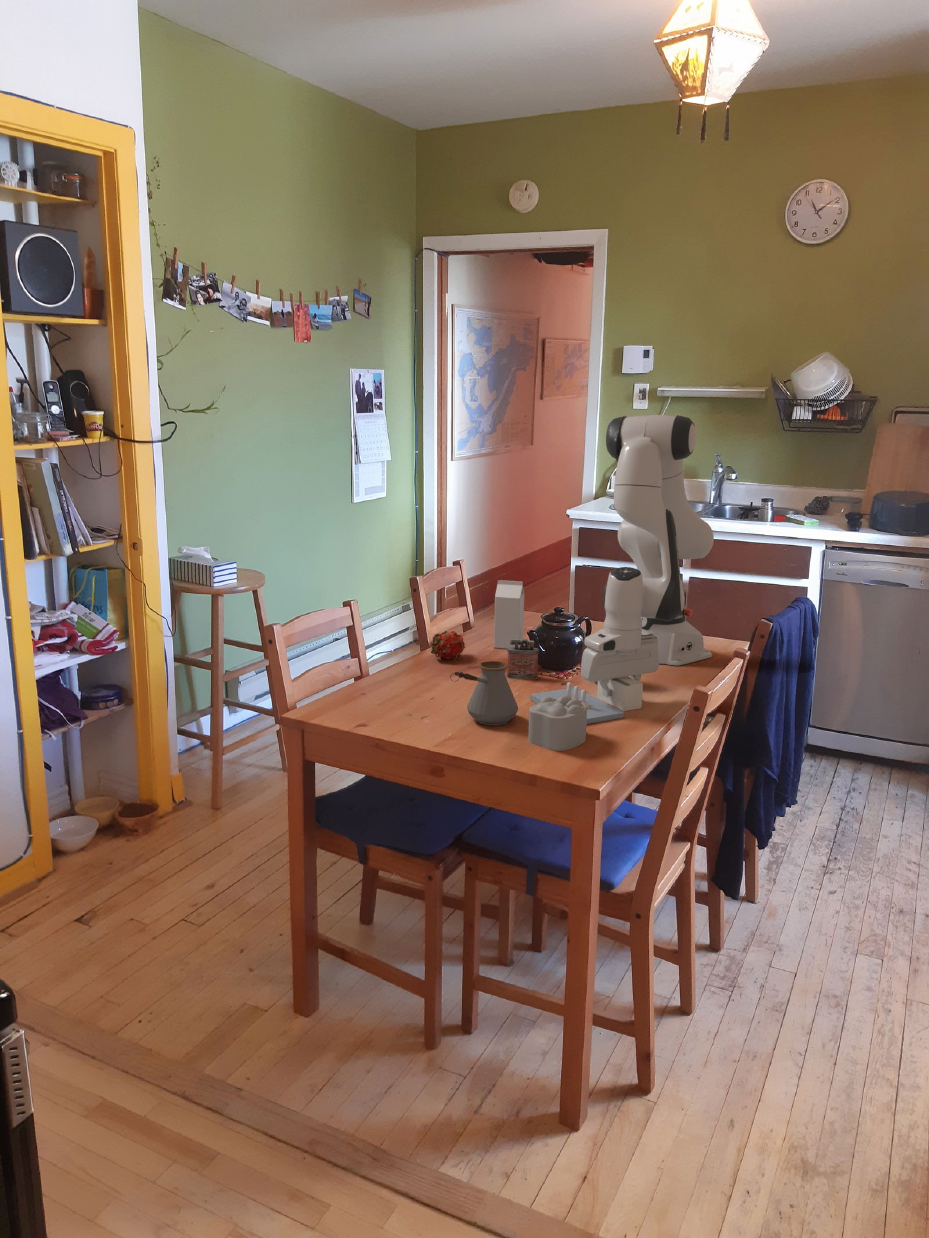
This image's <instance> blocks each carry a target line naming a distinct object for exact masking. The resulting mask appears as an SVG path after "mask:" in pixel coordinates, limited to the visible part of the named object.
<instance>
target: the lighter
mask: <svg viewBox="0 0 929 1238" xmlns="http://www.w3.org/2000/svg"><path fill="white" fill-rule="evenodd" d="M510 645H515V647H508V648H507V649H506V652H507V660H506V661H507V663H506V664H507V665H508V667H507V668H506V670H507V671H506V678H509V679H517V680H518V679H519V680H536V679H538V678H539V673H538V668H539V667H538V666H539V663H538V661H539V652H540V650H539V648H536V647H534V646H535V641H534V640H528V639H527V638H523V640H519V639H511V640H510ZM518 645H521V646H520V647H518Z"/></svg>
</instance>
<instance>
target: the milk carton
mask: <svg viewBox="0 0 929 1238" xmlns="http://www.w3.org/2000/svg"><path fill="white" fill-rule="evenodd" d="M523 584H524V583H523V581H516V580H506V579H505V580H503V579H501V580H499V579H498V580H497V585H496V589H495V590H496V591H495V595H494V629H493V630H494V636H493V638H494V639H493V641H494V642H493V647H494V648H495V649H496V648H497V649H506V650H507V648H508V647H515V645H510V640H511V639H519V640H523V639H524V626H525V625H524V621H525V619H524V618H525V590H524V585H523ZM520 646H521V645H518V647H520Z"/></svg>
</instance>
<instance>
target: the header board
mask: <svg viewBox="0 0 929 1238" xmlns="http://www.w3.org/2000/svg"><path fill="white" fill-rule="evenodd" d="M579 687H580V686H577V685H574V687H572V682H570V681H569V682H567V685H566V688H563V689H557V690H556V689H555V690H550V691H549V690H548V691H544V692H543V691H542V692H537V693H536V692H535V693H530V694H529V700H531V701H533V703H535V704H538V703H540V701H541V699H542V698H543V697H546V696H548V697H551V698H552V699H553V698H555V699H559V698H560V697H562V696H568V697H570V698H571V699H572V698H574V699H578V700H581V701H583V702H584V703H585V704H586V706H587V723H586V725H589V724H594V723H600V722H606V721H612V720H616V719H617V718H618V719H624V718H623V717H625V711H623V710H621V709H619V708H617V707H615V706H613V705H611V704H609V703H607V702H605V701H604V700H602V699H600V698H598V697H597V696H594V695H592V694H591V693H588V692H587V690H586V689H580V688H579ZM618 719H617V720H618Z"/></svg>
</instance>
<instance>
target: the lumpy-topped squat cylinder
mask: <svg viewBox="0 0 929 1238" xmlns="http://www.w3.org/2000/svg"><path fill="white" fill-rule="evenodd" d="M528 715H529V716H528V735H527V736H528V739H527V741H528V743H530V744H532V745H535V746H539V747H542V748H544V749H547V750H550V751H553V752H554V751H555V752H561V751H562V752H563V751H568V750H570V749H573V748H576V747H578V746H580V745H583V744H584V743H585V742H586V738H587V724H586V723H587V706H586V704H585V703H584V702H583V701H581V700H578V699H574V698H572V699H571V698H570V697H568V696H562V697H560V698H559V699H555V698H553V699H552V698H551V697H548V696H546V697H543V698H542V699H541V701H540V703H538V704H537V703H535V704H534V705H532V706H530V707H529V710H528Z"/></svg>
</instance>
